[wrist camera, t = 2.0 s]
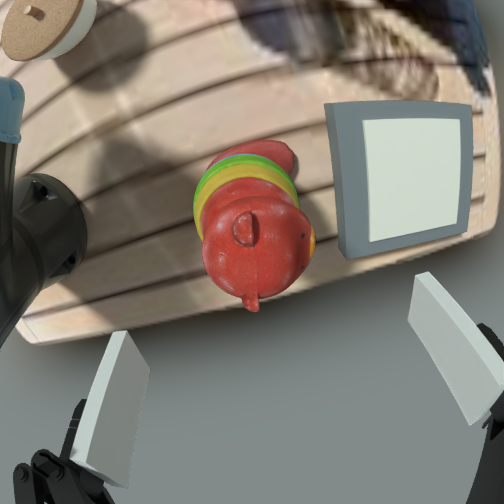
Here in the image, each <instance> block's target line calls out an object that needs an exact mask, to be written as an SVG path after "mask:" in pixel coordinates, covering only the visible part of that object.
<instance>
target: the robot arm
mask: <svg viewBox="0 0 504 504" xmlns="http://www.w3.org/2000/svg"><path fill="white" fill-rule="evenodd" d="M24 102H25V93H24V89H23V87H22V85H21V84H20V83H19V82H18V81H16V80H14V79H11V78H7V77H1V76H0V348H1V347H2V345H3V343H4V342H5V340H6V339H7V337H8V336H9V334H10V333H11V331H12V330H13V328H14V327H15V325H16V324H17V322H18V321H19V320H20V318H21V317H22V315H23V314H24V313H25V311H26V310H27V308H28V307H29V306H30V304H31V303H32V302H33V300H34V299H35V297H36V296H37V295H38V294H39V292H40V291H41V290H43V289H45V288H47V287H49V286H51V285H53V284H55V283H57V282H59V281H61V280H63V279H65V278H66V277H68V276H69V275H70V274H71V273H72V272H73V271H74V270H75V268H76V267H77V266H78V265H79V263H80V262H81V260H82V258H83V256H84V253H85V250H86V245H87V230H86V224H85V220H84V216H83V213H82V211H81V208H80V206H79V204H78V202H77V201H76V199H75V197H74V196H73V194H72V193H71V192H70V191H69V190H68V188H67V187H66V186H65V185H64V184H62V183H61V182H60V181H58V180H57V179H55V178H54V177H52V176H49V175H46V174H41V173H34V174H30V175H27V176H25V177H23V178H21V179H19V180H17V181H15V182H14V175H15V165H16V156H17V148H18V143H20V141H21V134H20V127H21V120H22V113H23V108H24ZM408 322H409V323H410V325H411V326H412V328H413V329H414V331H415V332H416V334H417V336H418V337H419V339H420V340H421V342H422V343H423V345H424V347H425V348H426V350H427V351H428V353H429V354H430V356H431V358H432V359H433V361H434V363H435V364H436V366H437V368H438V370H439V371H440V373H441V374H442V376H443V378H444V380H445V381H446V383H447V385H448V387H449V388H450V390H451V392H452V394H453V396H454V397H455V399H456V401H457V403H458V405H459V407H460V408H461V410H462V412H463V414H464V416H465V418H466V420H467V422H468V424H469V425H471V424H473V423H475V422H476V421H478V420H480V419H481V418H483V417H484V415H485V414H486V413H487V412H488V411H489V409H490V411H491V413H492V414H491V416H490V417H489V418H488V419H487V420H486V422H485V423H484V424H483V426H482V428H483V429H484V428H485V427H486V426H487V424H488V423H489V424H488V428H487V434H486V439H485V443H484V448H483V451H482V456H481V459H480V463H479V466H478V470H477V473H476V477H475V479H474V482H473V485H472V488H471V491H470V494H469V497H468V499H467V502H466V504H504V346H503V343H502V342H501V341H500V339H498V337H497V336H496V334H495V333H494V332H493V331H492V329H490V328H489V327H487V326H486V325H484V324H483V323H481V324H478V325H475V324H474V322H473V321H472V320H471V319H470V318H469V316H468V315H467V314H466V313H465V312H464V311H463V309H462V308H461V307H460V306H459V305H458V303H457V302H456V301H455V300H454V299H453V298H452V297H451V296H450V294H449V293H448V292H447V291H446V290H445V289H444V288H443V287H442V286H441V285H440V283H439V282H438V281H437V280H436V279H435V278H434V277H433V276H432V275H431V274H430V273H429V272H425V273H421V274H418V275H416V276H415V281H414V287H413V293H412V299H411V305H410V310H409V315H408ZM149 374H150V367H149V366H148V364H147V363H146V361H145V360H144V358H143V356H142V355H141V353H140V352H139V350H138V348H137V347H136V345H135V343H134V342H133V340H132V338H131V337H130V335H129V333H128V331H117V332H113V334H112V336H111V339H110V342H109V344H108V346H107V348H106V351H105V354H104V356H103V359H102V361H101V364H100V366H99V369H98V371H97V374H96V377H95V379H94V382H93V385H92V388H91V391H90V394H89V396H88V399H82V400H81V401H80V402H79V404H78V405H77V407H76V408H75V410H74V413H73V416H72V420H71V422H70V425H69V427H70V428H68V431H67V434H66V438H65V441H64V444H63V447H62V451H61V454H60V457H59V458H58V457H57V456H55V455H54V454H53V453H51V452H50V451H48V450H46V449H41V450H38V451H37V452H36V453H35V454H34V456H33V457H32V460H31V466H29V465H28V464H26V463H20V464H18V465H17V466H16V468H15V470H14V472H13V483H14V494H15V503H16V504H44V502H46V503H47V504H115V503H114V501H113V499H112V498H111V496H110V495H109V493H108V491H107V489H106V488H105V487H104V486H103V484H104V481H105V482H106V483H108V484H110V485H112V486H116V487H122V488H128V484H129V477H130V471H131V464H132V458H133V452H134V446H135V441H136V435H137V430H138V425H139V420H140V415H141V410H142V405H143V401H144V396H145V391H146V387H147V382H148V378H149Z"/></svg>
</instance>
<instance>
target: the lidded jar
mask: <svg viewBox="0 0 504 504" xmlns="http://www.w3.org/2000/svg"><path fill="white" fill-rule="evenodd" d="M96 11H97V2H96V0H15V2H14V3H13V5H12V6H11V8H10V10H9V12H8V14H7V16H6V19H5V22H4V24H3V29H2V36H1V40H2V47H3V50H4V52H5V54H6V55H7V56H8V57H9V58H10V59H12V60H15V61H42V60H48V59H52V58H56V57H58V56H60V55H63V54H65V53H66V52H68V51H70V50H71V49H72V48H74V47H75V46H76V45H77V44H78V43H79V42H80V41H81V40H82V39H83V38H84V37H85V36H86V34H87V33H88V31H89V30H90V28H91V26H92V24H93V22H94V19H95V16H96Z"/></svg>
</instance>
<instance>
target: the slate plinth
mask: <svg viewBox="0 0 504 504" xmlns="http://www.w3.org/2000/svg"><path fill="white" fill-rule="evenodd" d="M324 108H325V115H326V121H327V128H328V136H329V143H330V151H331V160H332V169H333V179H334V189H335V201H336V214H337V229H338V248H339V250H340V251H341V253H342V254H343V256H344V257H345V259H346V260H349V259H353V258H358V257H362V256H367V255H371V254H376V253H380V252H385V251H389V250H393V249H398V248H402V247H406V246H411V245H415V244H419V243H423V242H427V241H432V240H436V239H440V238H444V237H448V236H452V235H456V234H460V233H464V232H467V227H468V220H469V212H470V202H471V191H472V174H473V122H472V107H471V105H466V104H459V103H448V102H433V101H402V100H386V101H354V102H338V103H326V104H324Z"/></svg>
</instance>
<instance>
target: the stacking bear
mask: <svg viewBox="0 0 504 504" xmlns="http://www.w3.org/2000/svg"><path fill="white" fill-rule="evenodd" d="M293 158H294V153H293V151H292V150H290V149H289V148H288V146H287V144H285V143H283V142H281V141H274V140H258V141H251V142H247V143H243V144H240V145H237V146H235V147H232V148H230V149H228V150H227V151H225V152H223V153H222V154H221V155H219V156H218V157H216V158H215V159H214V160H213V161H212V162H211V164H210V165H209V166H208V168H207V170H206V172H205V174H204V175H203V176H202V178H201V179H200V181H199V183H198V186H197V188H196V191H195V195H194V201H193V214H194V220H195V224H196V228H197V231H198V234H199V237H200V239H201V241H202V259H203V264H204V267H205V269H206V271H207V273H208V275H209V277H210V278H211V280H212V281H213V282H214V283H215V284H216V285H217V286H218V287H219V288H221V289H222V290H223V291H225V292H227V293H228V294H231V295H233V296H236V297H239V298H241V299H242V302H243V305H244V306H245V308H246V309H248V310H249V311H252V312H258V311H259V310H260V309H259V299H263V298H268V297H272V296H275V295H277V294H279V293H281V292H283V291H284V290H286V289H287V288H288V287H289V286H290V285H292V284H293V283H294V282H295V281H296V279H297V278H298V277H299V276H300V275H301V274H302V272H303V271H304V270H305V269H306V267H307V266H308V264H309V262H310V260H311V258H312V256H313V253H314V250H315V246H316V242H317V241H316V236H315V232H314V229H313V226H312V224H311V223H310V221H309V220H308V218H307V217H306V216H305V214H303V213H302V212H301V211H300V210H299V201H298V195H297V192H296V189H295V186H294V184H293V182H292V180H291V178H290V177H289V174H290V172H291V171H292V169H293V167H294V160H293Z"/></svg>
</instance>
